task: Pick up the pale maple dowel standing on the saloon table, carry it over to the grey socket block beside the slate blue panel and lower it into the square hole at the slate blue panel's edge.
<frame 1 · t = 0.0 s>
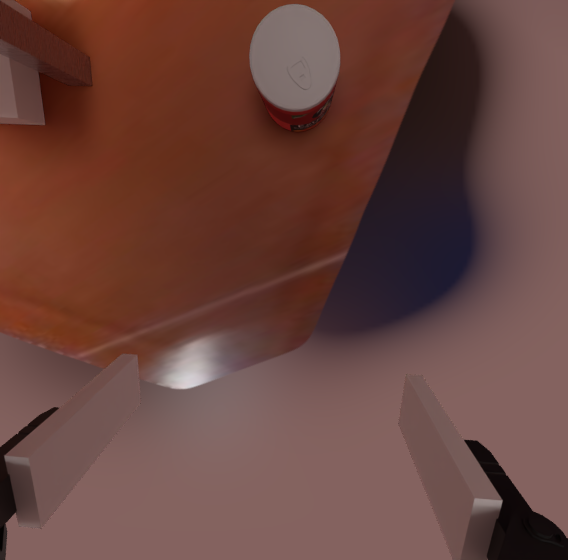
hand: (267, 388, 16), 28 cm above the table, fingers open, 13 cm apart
slate blue panel: (78, 71, 39), on the table
canned food: (297, 96, 38), on the table
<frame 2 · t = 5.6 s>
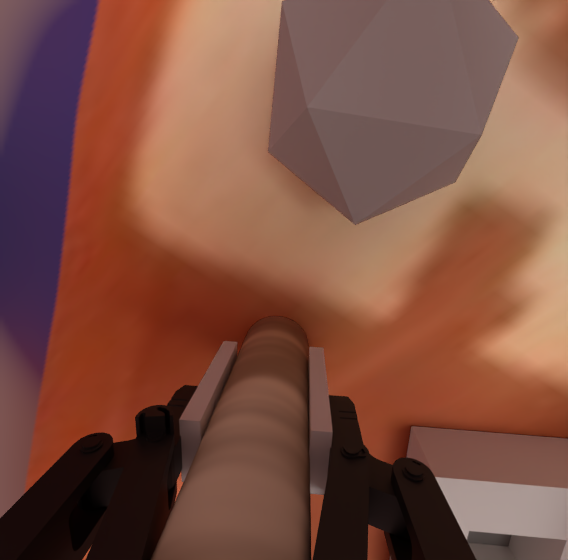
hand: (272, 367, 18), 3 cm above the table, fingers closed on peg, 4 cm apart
peg: (276, 346, 21), on the table, touching gripper
die: (361, 123, 17), on the table
socket block: (503, 509, 23), on the table
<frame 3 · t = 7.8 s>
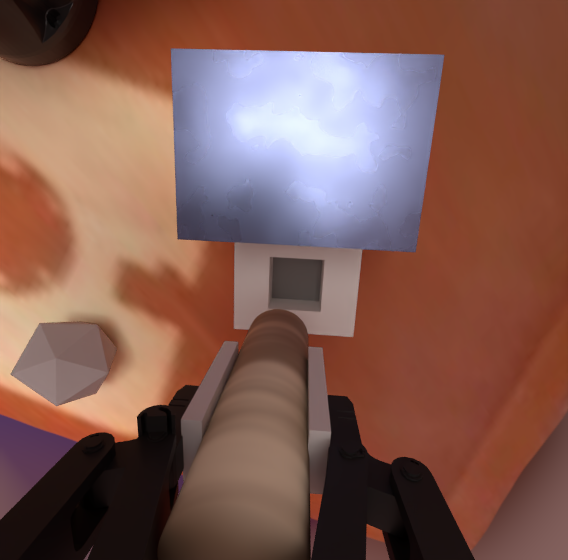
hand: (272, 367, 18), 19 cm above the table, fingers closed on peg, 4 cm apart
peg: (278, 337, 22), point 14 cm above the table, touching gripper
slate blue panel: (304, 136, 32), on the table
die: (93, 343, 40), on the table
socket block: (297, 257, 35), on the table
when the fingers open (5 cm above the table, at t = 10.1 s): peg stays where it is, resting on socket block.
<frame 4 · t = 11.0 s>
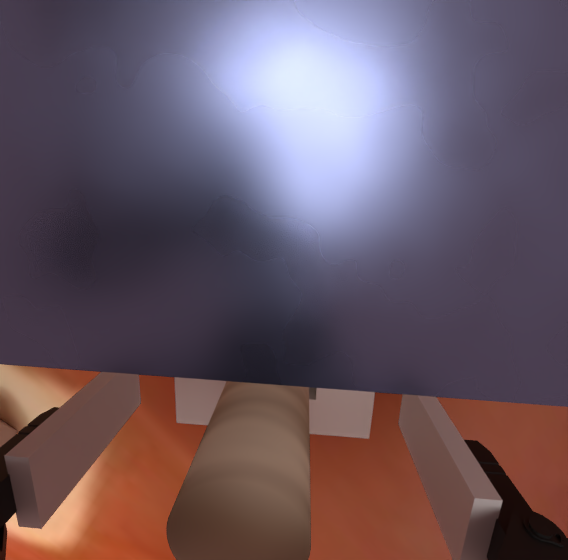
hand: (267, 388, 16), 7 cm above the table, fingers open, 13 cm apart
peg: (278, 333, 23), resting on socket block
slate blue panel: (288, 110, 20), on the table
socket block: (280, 303, 23), on the table
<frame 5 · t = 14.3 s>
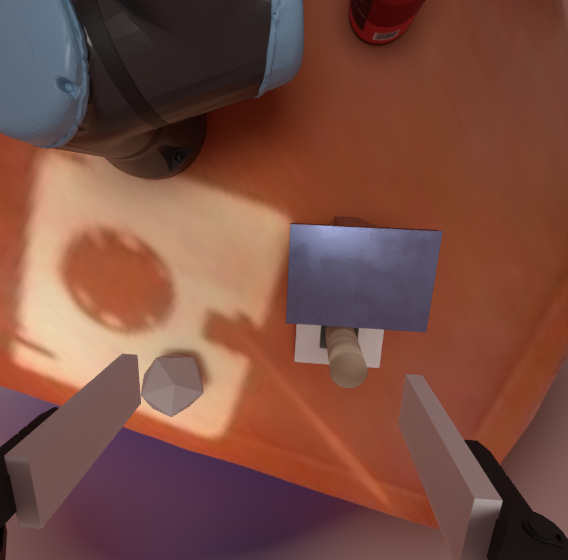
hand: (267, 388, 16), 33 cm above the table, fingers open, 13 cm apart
peg: (337, 323, 49), point 1 cm above the table, touching socket block
slate blue panel: (345, 227, 46), on the table
canned food: (381, 10, 40), on the table
die: (183, 369, 54), on the table
socket block: (338, 309, 49), on the table
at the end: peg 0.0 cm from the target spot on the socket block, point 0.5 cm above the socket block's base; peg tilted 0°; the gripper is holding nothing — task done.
